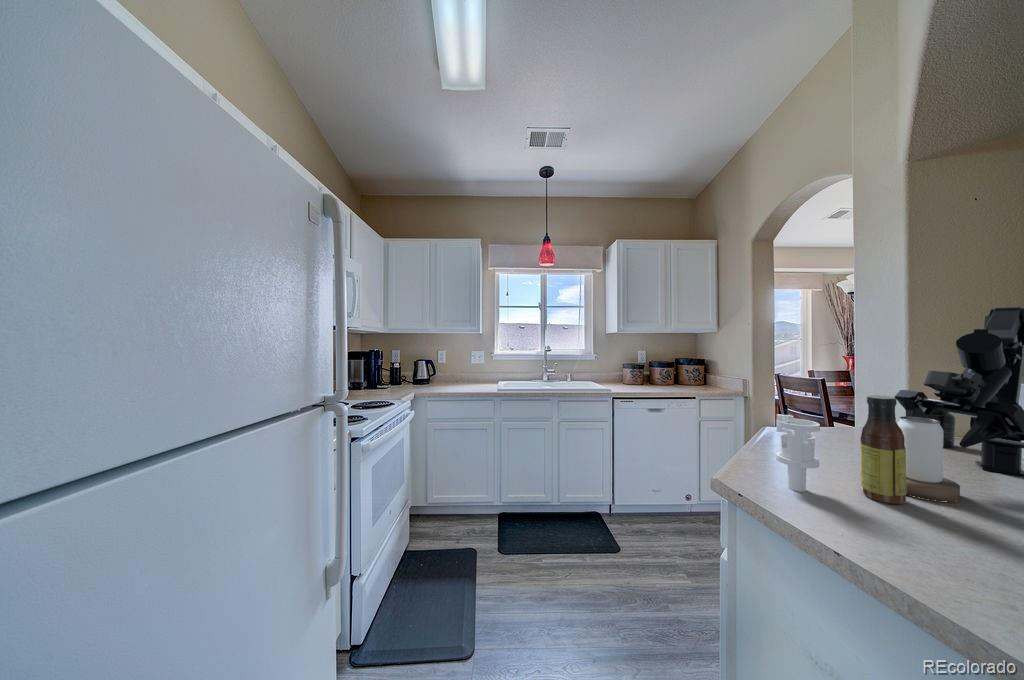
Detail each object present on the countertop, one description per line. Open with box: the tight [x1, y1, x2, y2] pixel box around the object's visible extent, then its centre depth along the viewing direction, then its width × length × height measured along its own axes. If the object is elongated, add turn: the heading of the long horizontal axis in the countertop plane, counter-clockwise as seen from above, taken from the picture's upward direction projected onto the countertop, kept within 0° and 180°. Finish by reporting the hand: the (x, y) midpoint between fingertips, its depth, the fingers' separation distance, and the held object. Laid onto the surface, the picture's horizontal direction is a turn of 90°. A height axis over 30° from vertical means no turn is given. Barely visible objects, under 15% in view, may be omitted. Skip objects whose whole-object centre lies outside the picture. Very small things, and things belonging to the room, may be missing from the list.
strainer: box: [775, 413, 821, 493], centre depth 77 cm, size 7×7×15 cm
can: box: [896, 415, 944, 484], centre depth 76 cm, size 6×6×12 cm
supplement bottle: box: [928, 410, 956, 449], centre depth 107 cm, size 7×7×12 cm
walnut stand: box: [906, 476, 961, 503], centre depth 76 cm, size 11×11×2 cm
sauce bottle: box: [859, 394, 907, 505], centre depth 72 cm, size 7×6×20 cm
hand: (931, 439), depth 76 cm, fingers open, 9 cm apart
